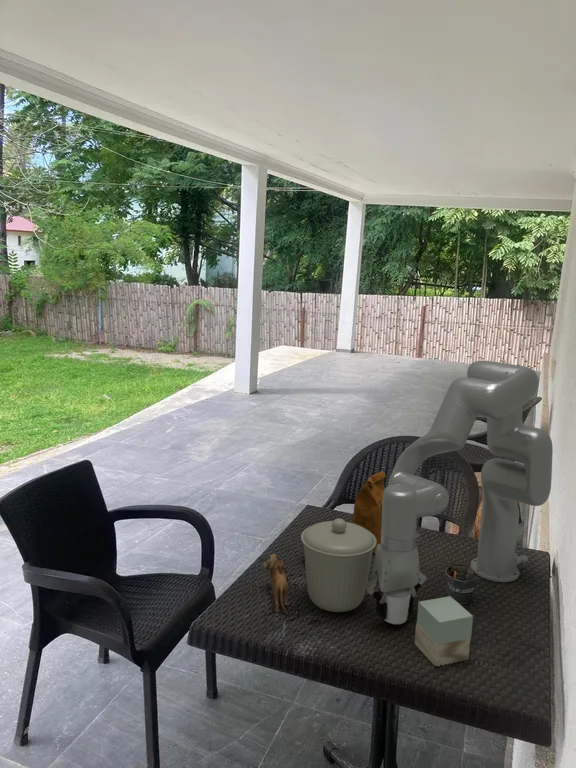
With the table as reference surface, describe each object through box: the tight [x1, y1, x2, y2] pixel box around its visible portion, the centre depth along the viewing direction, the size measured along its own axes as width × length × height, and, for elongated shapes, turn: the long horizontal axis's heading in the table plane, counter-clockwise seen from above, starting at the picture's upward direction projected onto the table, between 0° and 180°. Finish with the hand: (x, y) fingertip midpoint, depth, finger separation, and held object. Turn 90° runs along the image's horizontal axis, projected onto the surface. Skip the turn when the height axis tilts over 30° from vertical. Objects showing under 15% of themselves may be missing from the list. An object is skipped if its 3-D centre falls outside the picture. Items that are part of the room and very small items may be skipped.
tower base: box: [414, 622, 471, 667], centre depth 122 cm, size 8×8×5 cm
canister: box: [300, 518, 377, 613], centre depth 139 cm, size 18×18×21 cm
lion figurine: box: [262, 553, 291, 615], centre depth 140 cm, size 15×5×9 cm, turn 17°
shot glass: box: [381, 588, 411, 625], centre depth 131 cm, size 7×7×7 cm
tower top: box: [416, 595, 474, 645], centre depth 122 cm, size 8×8×5 cm
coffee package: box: [352, 470, 386, 554], centre depth 169 cm, size 10×12×22 cm
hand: (394, 612), depth 132 cm, fingers closed on shot glass, 6 cm apart
